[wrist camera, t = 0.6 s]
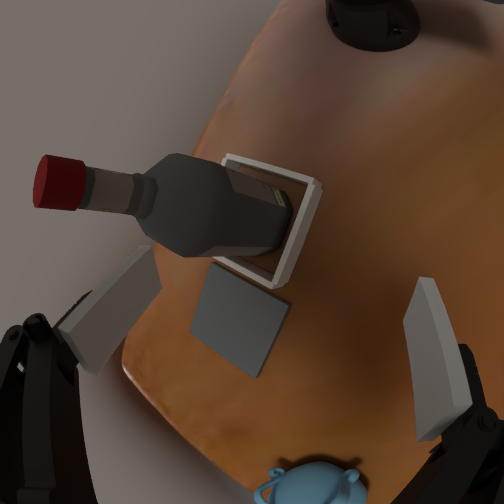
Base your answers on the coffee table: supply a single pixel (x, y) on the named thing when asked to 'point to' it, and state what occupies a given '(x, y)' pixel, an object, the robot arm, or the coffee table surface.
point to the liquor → (174, 203)
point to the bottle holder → (297, 231)
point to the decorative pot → (313, 486)
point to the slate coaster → (238, 319)
